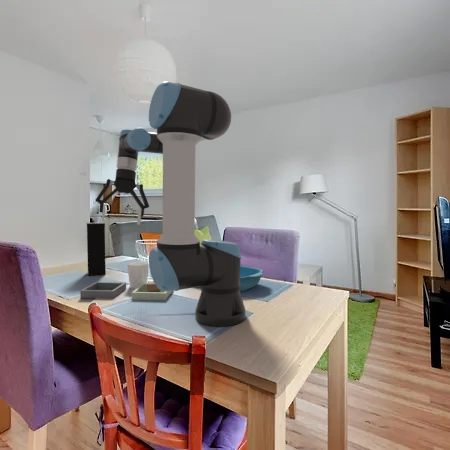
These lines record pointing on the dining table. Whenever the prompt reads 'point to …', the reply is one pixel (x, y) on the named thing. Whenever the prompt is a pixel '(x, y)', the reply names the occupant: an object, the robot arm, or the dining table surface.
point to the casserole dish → (249, 277)
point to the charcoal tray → (102, 290)
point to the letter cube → (152, 287)
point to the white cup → (137, 274)
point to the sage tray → (149, 294)
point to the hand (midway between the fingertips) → (120, 223)
